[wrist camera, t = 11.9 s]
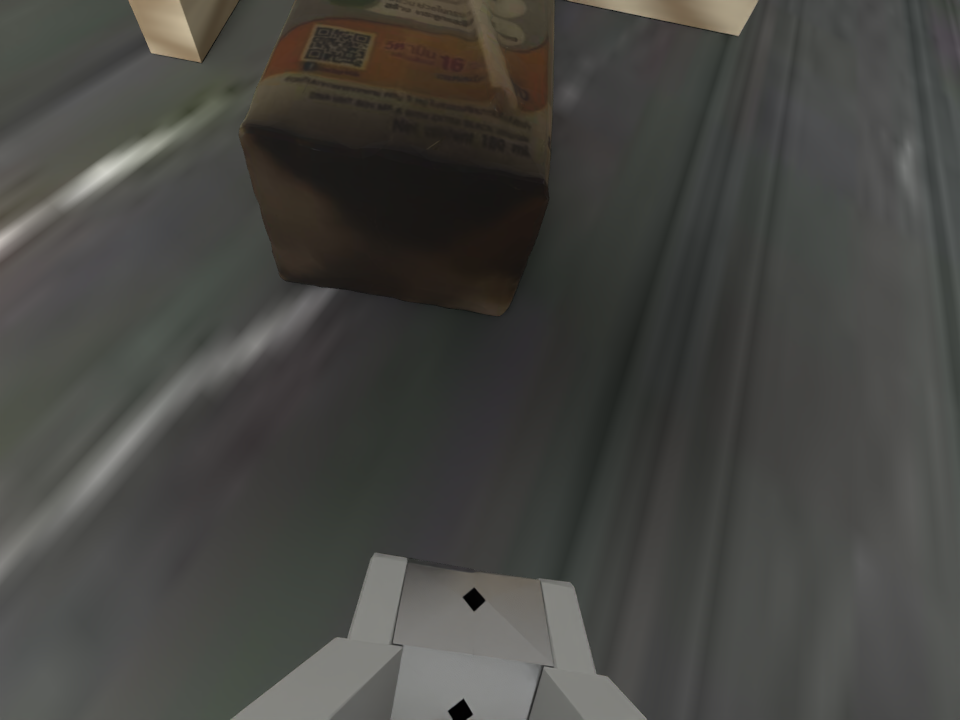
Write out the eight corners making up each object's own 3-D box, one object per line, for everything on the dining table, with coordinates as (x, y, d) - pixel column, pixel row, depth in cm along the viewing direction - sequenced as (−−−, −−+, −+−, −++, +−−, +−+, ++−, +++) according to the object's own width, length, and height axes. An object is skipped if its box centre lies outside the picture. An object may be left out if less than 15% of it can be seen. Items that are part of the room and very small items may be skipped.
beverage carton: (533, 8, 27) (569, -165, 21) (514, 332, 18) (568, 186, 12) (376, -21, 26) (368, -207, 20) (274, 299, 17) (207, 129, 11)
